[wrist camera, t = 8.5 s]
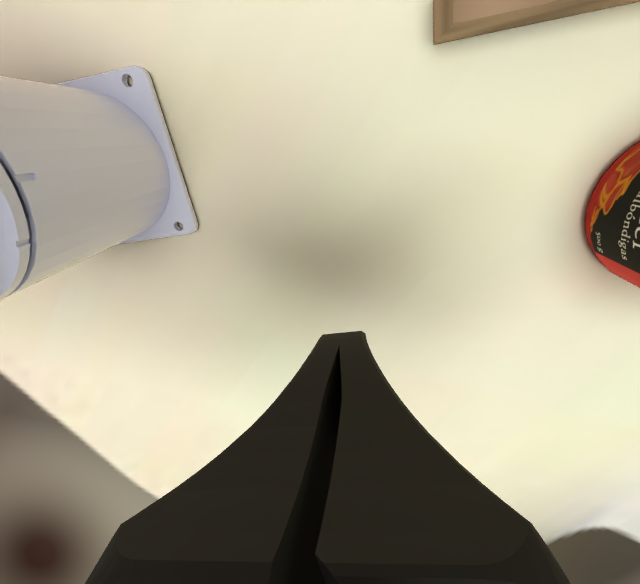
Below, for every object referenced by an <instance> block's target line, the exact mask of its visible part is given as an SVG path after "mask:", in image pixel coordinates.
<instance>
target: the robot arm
mask: <svg viewBox="0 0 640 584" xmlns="http://www.w3.org/2000/svg"><path fill="white" fill-rule="evenodd" d="M128 76H131V78H132V80H133V84H132V86H131V87H130V86H129V85H128V83H127V78H128ZM177 222H180V223H181V224H182V225H183V229H180V228H179V227H178V225H177ZM197 228H198V222H197V219H196V216H195V213H194V210H193V207H192V204H191V201H190V197H189V194H188V191H187V188H186V185H185V182H184V179H183V176H182V173H181V170H180V167H179V163H178V160H177V157H176V154H175V151H174V148H173V145H172V142H171V139H170V136H169V133H168V129H167V126H166V123H165V120H164V117H163V114H162V111H161V108H160V105H159V102H158V99H157V95H156V92H155V89H154V86H153V83H152V80H151V77H150V75H149V73H148V72H147V71H146V70H145V69H144V68H142V67H139V66H131V67H126V68H122V69H118V70H113V71H109V72H105V73H100V74H96V75H92V76H88V77H83V78H79V79H75V80H70V81H66V82H62V83H57V84H48V83H41V82H35V81H29V80H23V79H17V78H10V77H4V76H0V301H1V300H3V299H4V298H5V297H7V296H9V295H11V294H13V293H15V292H17V291H20V290H22V289H24V288H26V287H28V286H30V285H32V284H34V283H36V282H39V281H41V280H43V279H45V278H47V277H49V276H51V275H53V274H55V273H57V272H60V271H62V270H64V269H66V268H68V267H70V266H72V265H74V264H76V263H79V262H81V261H83V260H85V259H87V258H89V257H91V256H93V255H95V254H97V253H100V252H102V251H104V250H106V249H108V248H110V247H112V246H114V245H116V244H121V243H128V242H135V241H142V240H149V239H156V238H163V237H171V236H178V235H185V234H191V233H193V232H195V231H196V230H197ZM85 584H570V582H569V580H568V579H567V577H566V575H565V573H564V572H563V570H562V569H561V567H560V566H559V564H558V562H557V560H556V559H555V557H554V556H553V554H552V553H551V551H550V549H549V548H548V546H547V545H546V544H545V542H544V541H543V539H542V538H541V536H540V535H539V533H538V532H537V530H536V529H535V528H534V526H533V525H532V523H530V522H529V521H528V520H527V519H525V518H524V517H523V516H521V515H520V514H519V513H518V512H516V511H515V510H514V509H513V508H511V507H510V506H509V505H508V504H506V503H505V502H504V501H503V500H501V499H500V498H499V497H498V496H497V495H495V494H494V493H493V492H492V491H491V490H489V489H488V488H487V487H486V486H485V485H483V484H482V483H481V482H480V481H479V480H478V479H477V478H475V477H474V476H473V475H472V474H471V473H470V472H469V471H468V470H466V469H465V468H464V467H463V466H462V465H461V464H460V463H459V462H458V461H457V460H456V459H455V458H454V457H453V456H452V455H450V454H449V453H448V452H447V451H446V450H445V449H444V448H443V447H442V446H441V445H440V444H439V443H438V442H437V441H436V440H435V439H434V438H433V437H432V436H431V435H430V434H429V433H428V432H427V430H426V429H425V428H424V427H423V426H422V425H421V424H420V423H419V421H418V420H417V419H416V418H415V417H414V416H413V414H412V413H411V412H410V411H409V410H408V408H407V407H406V406H405V405H404V403H403V402H402V401H401V400H400V398H399V397H398V395H397V394H396V393H395V391H394V390H393V388H392V387H391V386H390V384H389V383H388V381H387V380H386V378H385V376H384V375H383V373H382V371H381V370H380V368H379V366H378V364H377V363H376V361H375V359H374V357H373V355H372V353H371V351H370V348H369V346H368V343H367V340H366V334H365V333H364V332H362V331H356V332H346V333H335V334H325V335H322V336H321V337H320V339H319V340H318V342H317V344H316V345H315V347H314V348H313V350H312V351H311V353H310V355H309V356H308V358H307V359H306V361H305V362H304V364H303V365H302V366H301V368H300V369H299V371H298V372H297V373H296V375H295V376H294V378H293V379H292V380H291V382H290V383H289V384H288V385H287V387H286V388H285V389H284V390H283V392H282V393H281V394H280V395H279V396H278V398H277V399H276V400H275V401H274V402H273V404H272V405H271V406H270V407H269V408H268V409H267V410H266V411H265V412H264V414H263V415H262V416H261V417H260V418H259V419H258V420H257V421H256V422H255V423H254V424H253V425H252V426H251V427H250V428H249V429H248V430H247V431H245V432H244V433H243V434H242V435H241V436H240V437H239V438H238V439H236V440H235V441H234V442H233V443H232V444H231V445H230V446H229V447H227V448H226V449H225V450H224V451H223V452H222V453H221V454H219V455H218V456H217V457H216V458H214V459H213V460H212V461H211V462H209V463H208V464H207V465H206V466H204V467H203V468H202V469H201V470H199V471H198V472H197V473H195V474H194V475H193V476H191V477H190V478H189V479H187V480H186V481H185V482H183V483H182V484H180V485H179V486H178V487H176V488H175V489H173V490H172V491H171V492H169V493H168V494H166V495H165V496H163V497H162V498H160V499H159V500H157V501H156V502H154V503H153V504H151V505H150V506H148V507H147V508H145V509H144V510H142V511H141V512H139V513H138V514H136V515H135V516H133V517H132V518H130V519H129V520H127V521H125V522H124V523H122V524H121V525H120V527H119V528H118V530H117V531H116V533H115V534H114V536H113V538H112V539H111V541H110V543H109V544H108V546H107V548H106V549H105V551H104V552H103V554H102V556H101V558H100V559H99V561H98V563H97V564H96V566H95V568H94V569H93V571H92V573H91V574H90V576H89V578H88V579H87V581H86V583H85Z"/></svg>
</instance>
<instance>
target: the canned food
mask: <svg viewBox="0 0 640 584" xmlns="http://www.w3.org/2000/svg"><path fill="white" fill-rule="evenodd" d="M585 226H586V235H587V239H588V242H589V245H590V247H591V248H592V250H593V252H594V253H595V255H596V256H597V258H598V259H599V260H600V262H601V263H602V264H603V265H604V266H605V267H606V268H607V269H608V270H609V271H610V272H612V273H614V274H616V275H617V276H619V277H621V278H623V279H625V280H627V281H628V282H630V283H632V284H634V285H636V286H637V287H639V288H640V142H638V143H637V144H636V145H634V146H633V147H631V148H630V149H628V150H627V151H626V152H625V153H624V154H623V155H622V156H620V157H619V158H618V159H617V160H616V161H615V162H614V163H613V164H612V165H611V166H610V168H609V169H608V170H607V171H606V173H605V174H604V175H603V176H602V178H601V179H600V181H599V183H598V184H597V186H596V188H595V189H594V191H593V194H592V196H591V199H590V201H589V204H588V207H587V213H586V219H585Z"/></svg>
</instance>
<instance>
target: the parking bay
mask: <svg viewBox="0 0 640 584" xmlns="http://www.w3.org/2000/svg"><path fill="white" fill-rule="evenodd" d="M639 1H640V0H433V20H434V44H439V43H444V42H448V41H453V40H458V39H463V38H467V37H472V36H477V35H482V34H486V33H491V32H496V31H501V30H505V29H510V28H515V27H520V26H524V25H529V24H534V23H539V22H544V21H548V20H553V19H558V18H563V17H567V16H572V15H577V14H582V13H586V12H591V11H596V10H601V9H605V8H610V7H615V6H620V5H624V4H629V3H634V2H639Z"/></svg>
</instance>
